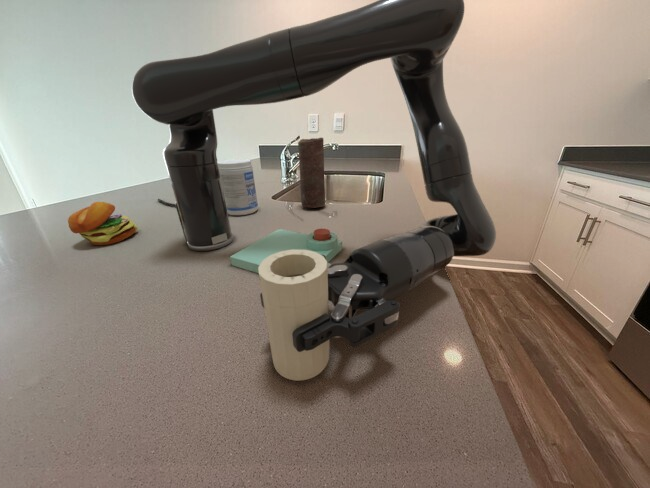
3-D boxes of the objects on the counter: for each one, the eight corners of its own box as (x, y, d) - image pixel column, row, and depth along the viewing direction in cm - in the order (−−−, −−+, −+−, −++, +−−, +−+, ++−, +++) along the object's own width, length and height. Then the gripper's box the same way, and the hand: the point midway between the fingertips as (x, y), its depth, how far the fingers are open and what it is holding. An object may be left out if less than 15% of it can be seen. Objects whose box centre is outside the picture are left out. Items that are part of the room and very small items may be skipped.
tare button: (310, 240, 50) (310, 233, 50) (318, 234, 53) (318, 227, 52) (325, 243, 49) (325, 235, 48) (332, 237, 52) (332, 229, 51)
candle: (322, 211, 76) (320, 138, 67) (298, 210, 77) (293, 139, 69) (327, 204, 83) (326, 136, 74) (305, 203, 84) (301, 137, 75)
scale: (231, 265, 48) (228, 248, 47) (280, 236, 60) (278, 222, 59) (303, 287, 42) (302, 268, 40) (342, 249, 53) (342, 233, 52)
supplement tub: (258, 214, 75) (251, 162, 68) (224, 218, 73) (213, 164, 67) (258, 205, 83) (251, 157, 77) (227, 208, 82) (218, 159, 75)
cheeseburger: (146, 235, 62) (119, 199, 56) (96, 261, 56) (61, 223, 51) (134, 225, 68) (109, 191, 62) (88, 247, 63) (56, 212, 57)
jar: (261, 366, 28) (243, 273, 23) (294, 328, 33) (285, 244, 28) (310, 391, 25) (303, 291, 20) (338, 345, 31) (338, 256, 25)
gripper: (354, 224, 38) (244, 259, 29) (446, 263, 27) (316, 335, 18) (353, 268, 41) (254, 311, 32) (435, 318, 30) (319, 402, 22)
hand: (277, 320), depth 25 cm, fingers closed on jar, 6 cm apart
